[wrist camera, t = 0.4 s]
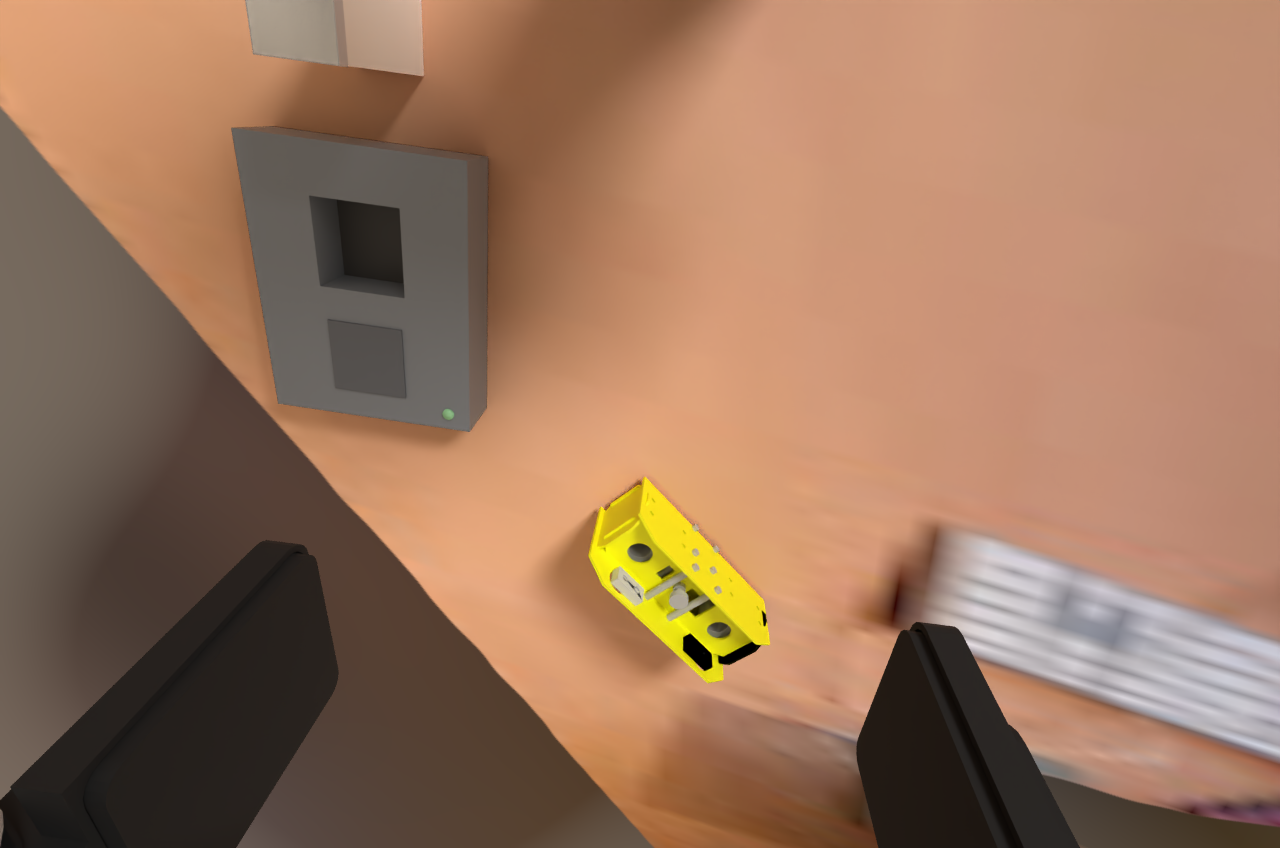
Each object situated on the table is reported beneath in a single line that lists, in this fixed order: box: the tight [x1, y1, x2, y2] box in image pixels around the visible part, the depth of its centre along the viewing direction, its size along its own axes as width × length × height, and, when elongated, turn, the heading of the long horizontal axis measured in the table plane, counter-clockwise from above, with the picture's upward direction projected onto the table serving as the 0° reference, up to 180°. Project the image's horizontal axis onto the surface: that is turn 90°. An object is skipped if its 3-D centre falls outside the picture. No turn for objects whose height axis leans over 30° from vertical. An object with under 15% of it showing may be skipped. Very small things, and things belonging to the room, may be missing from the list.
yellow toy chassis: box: [588, 477, 770, 683], centre depth 48 cm, size 16×6×8 cm, turn 41°
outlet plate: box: [231, 126, 488, 432], centre depth 41 cm, size 18×14×4 cm
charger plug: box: [245, 0, 424, 76], centre depth 32 cm, size 4×4×10 cm
